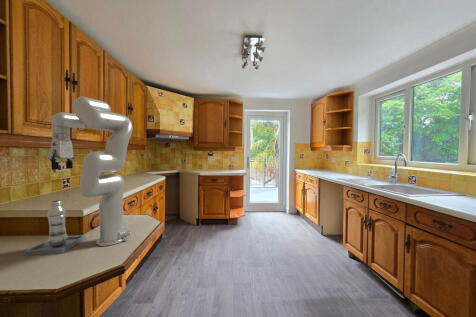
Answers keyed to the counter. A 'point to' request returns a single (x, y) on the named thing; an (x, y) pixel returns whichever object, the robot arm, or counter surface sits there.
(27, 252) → the slate tray
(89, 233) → the counter surface
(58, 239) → the plastic bottle
